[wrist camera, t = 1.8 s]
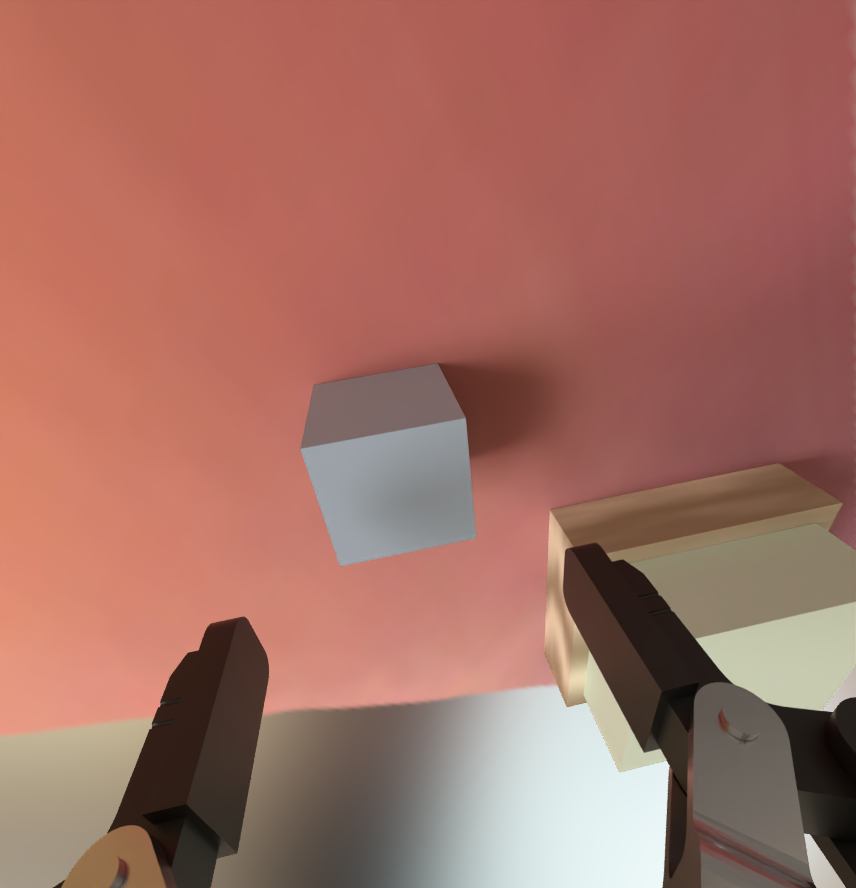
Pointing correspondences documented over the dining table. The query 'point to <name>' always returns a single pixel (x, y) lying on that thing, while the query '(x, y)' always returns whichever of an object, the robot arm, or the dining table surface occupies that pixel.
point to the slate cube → (389, 463)
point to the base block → (668, 538)
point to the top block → (753, 622)
